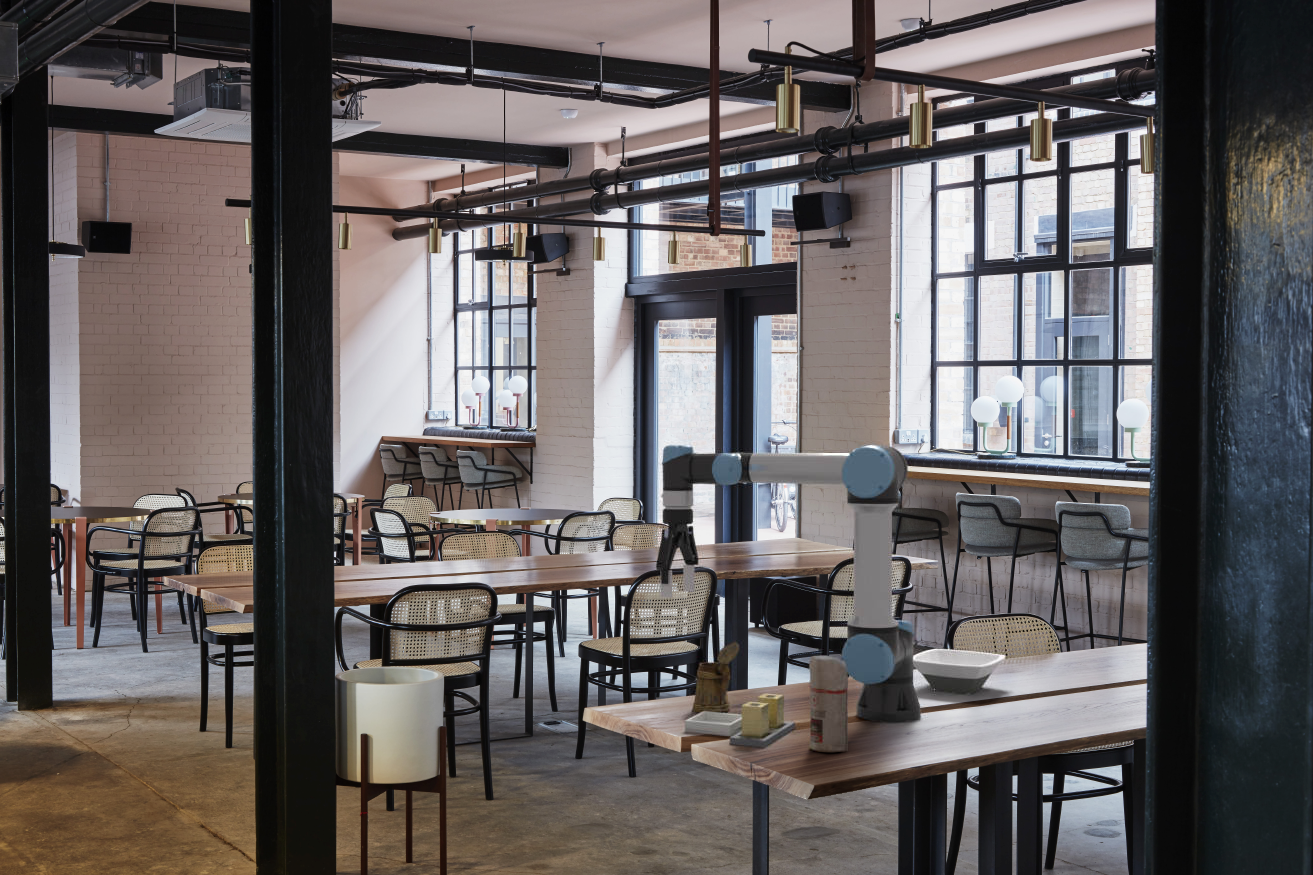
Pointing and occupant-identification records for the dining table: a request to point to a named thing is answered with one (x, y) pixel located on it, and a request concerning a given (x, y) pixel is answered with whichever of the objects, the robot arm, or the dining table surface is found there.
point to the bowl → (956, 669)
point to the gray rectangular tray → (760, 742)
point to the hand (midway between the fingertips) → (677, 594)
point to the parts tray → (714, 723)
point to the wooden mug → (715, 682)
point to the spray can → (828, 704)
